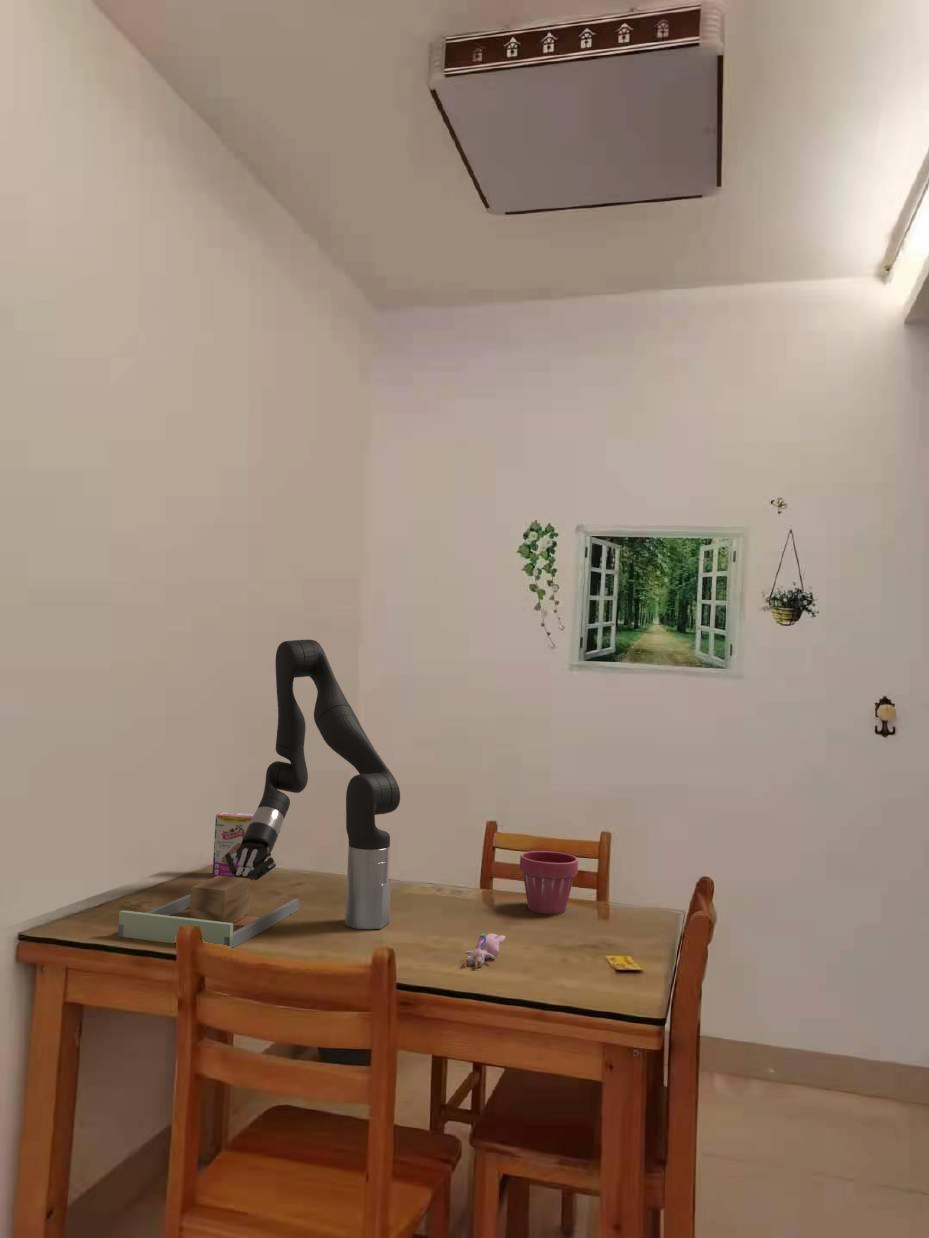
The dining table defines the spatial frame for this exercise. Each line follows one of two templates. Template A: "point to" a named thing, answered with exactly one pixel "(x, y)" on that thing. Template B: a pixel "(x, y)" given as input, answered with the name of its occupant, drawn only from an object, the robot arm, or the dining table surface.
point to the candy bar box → (228, 839)
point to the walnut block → (220, 899)
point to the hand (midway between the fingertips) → (236, 892)
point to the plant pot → (548, 880)
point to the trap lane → (196, 924)
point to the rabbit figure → (484, 950)
